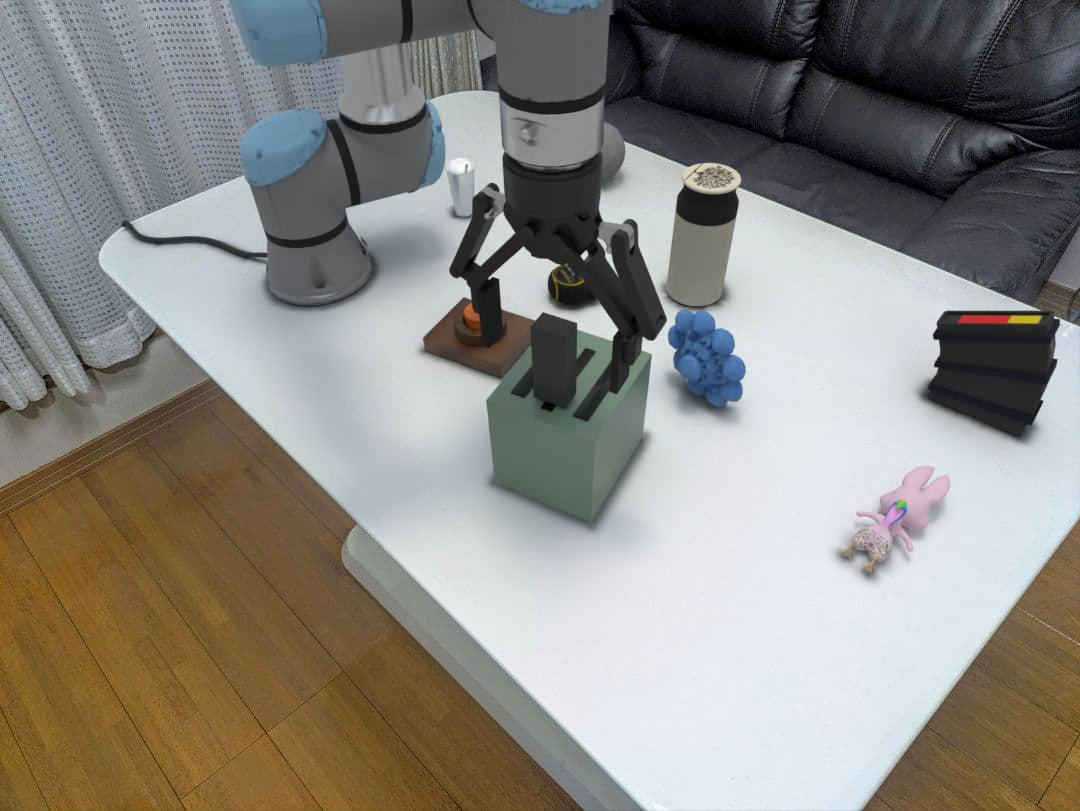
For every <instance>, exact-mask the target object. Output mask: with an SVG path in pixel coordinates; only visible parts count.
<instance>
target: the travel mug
mask: <svg viewBox="0 0 1080 811" xmlns="http://www.w3.org/2000/svg"><path fill="white" fill-rule="evenodd" d="M681 182H682V183H683V187H682V188H681V189H680V191H679V192H678V194H677V197H676V202H675V203H676V204H675V212H674V221H673V228H672V237H671V246H670V254H669V260H668V269H667V278H666V287H665V288H666V292H667V294H668V296H669V297H670V298H671V299H673V301H676V302H677V303H679V304H682V305H685V306H690V307H705V306H709V305H712V304H714V303H716V302H717V301H718V300H720V298H721V297H722V296H723V290H724V284H725V279H726V276H727V270H728V265H729V264H728V263H729V259H730V254H731V253H730V252H731V248H732V244H733V238H734V232H735V226H736V222H737V218H738V217H737V215H738V212H739V205H740V199H739V196H738V194H737V191H738V190H737V189H738V188H739V187H740V185H741V184H742V177H741V174H740V173H739V172H738V171H737V170H735V169H734V168H732V167H731V166H729V165H725V164H722V163H715V162H702V163H696V164H692V165H690V166H688V167H686V168H685V169H684V170H683V171H682V173H681Z"/></svg>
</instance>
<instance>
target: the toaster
mask: <svg viewBox="0 0 1080 811" xmlns="http://www.w3.org/2000/svg"><path fill="white" fill-rule="evenodd" d="M612 346H613V340H610V339H608V338H604V337H601V336H598V335H595V334H592V333H589V332H586V331H583V330H580V329H577V377H576V395H575V396H574V397H573V399H572V400H571V402H570V403H569V404H568V406H567V407H566V408H562V407H559V406H557V405H554V404H551V403H549V402H546V401H543V400H540V399H538V398H535V397H533V373H532V349H531V346H530V347H529V348H527V349H528V350H526V351H525V353H524V354H523V355H522V357H521V358H520V359H519V360H518V361H517V363H516V364H515V365H514V366H513V368H511V369H510V371H508V373H507V374H506V376H505V377H504V378H503V379H502V381H500V383H499V384H497V386H496V388H495V389H494V390H493V391H492V392H491V394H490V395H489V396H488V397H487V398H486V400H485V402H486V403H485V405H486V413H487V414H486V415H487V422H488V432H489V442H490V450H491V459H492V469H493V470H492V471H493V479H494V483H496V484H498V485H501V486H503V487H505V488H508V489H510V490H512V491H515V492H516V493H520V494H521V495H524V496H527V497H528V498H531V499H533V500H536V501H537V502H541V503H543V504H545V505H547V506H550V507H553V508H555V509H557V510H559V511H561V512H564V513H567V514H569V515H571V516H573V517H576V518H578V519H580V520H583V521H586V522H588V523H592V522H593V521H594V519H595V517H596V516H597V514H598V513H599V511H600V509H601V507H602V506H603V504H604V502H605V500H606V499H607V498H608V496H609V494H610V492H611V490H612V489H613V487H614V485H615V484H616V482H617V481H618V479H619V478H620V475H621V474H622V472H623V471H624V469H625V467H626V465H627V464H628V463H629V461H630V459H631V457H632V456H633V454H634V452H635V451H636V449H637V447H638V446H639V444H640V442H641V440H642V439H643V438H644V428H645V421H646V411H647V403H648V402H647V401H648V394H649V385H650V376H651V368H652V360H653V358H652V357H653V353H651V352H648V351H644V350H643V349H642V350H641V354H640V355H639V357H638V358H637V360H636V361H635V363H634V364H633V366H631V365H630V371H629V377H628V378H627V380H626V381H625V383H624V384H623V386H622V387H621V389H620V390H619V392H618V393H617V394H614V393H612V392H609V390H610V375H611V361H612Z"/></svg>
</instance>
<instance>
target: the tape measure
mask: <svg viewBox="0 0 1080 811" xmlns="http://www.w3.org/2000/svg"><path fill="white" fill-rule="evenodd" d="M547 291H548V293H549V296H551V298H552V299H553V300H554V301H555V302H556V303H559V304H561V305H564V306H580V305H582V304H585V303H587V302H590V301H594V300H595V301H596V300H597V298H596V297H595V296H594V294H593V293H592V291H591V290H590V288H589V287H588V286H587V284H586V283H585V281H584V280H583V279H582V278H578V277H576V276H575V274H574V273H573V271H572V270H571V269H570V267H569V266H568V264H565V266H562V265H558V266H556V267H554V268H553V269H552V270H551V271H550V272H549V275H548V278H547Z"/></svg>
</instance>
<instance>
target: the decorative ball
mask: <svg viewBox="0 0 1080 811" xmlns="http://www.w3.org/2000/svg"><path fill="white" fill-rule="evenodd" d="M600 151H601V153H602V180H601V183H602V182H605V181H607V180H609V179H612V178H613V177H614V176H615V175H616V174H617V173H618V172H619V171H620V170H621V168H622V166H623V164H624V161H625V157H626V144H625V140H624V138H623V136H622V134H621V132H620V131H619V129H617V128H616V127H615V126H614V125H612V124H611V123H609V122H607V121H604V142H603V146H602V148H601V150H600Z"/></svg>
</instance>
